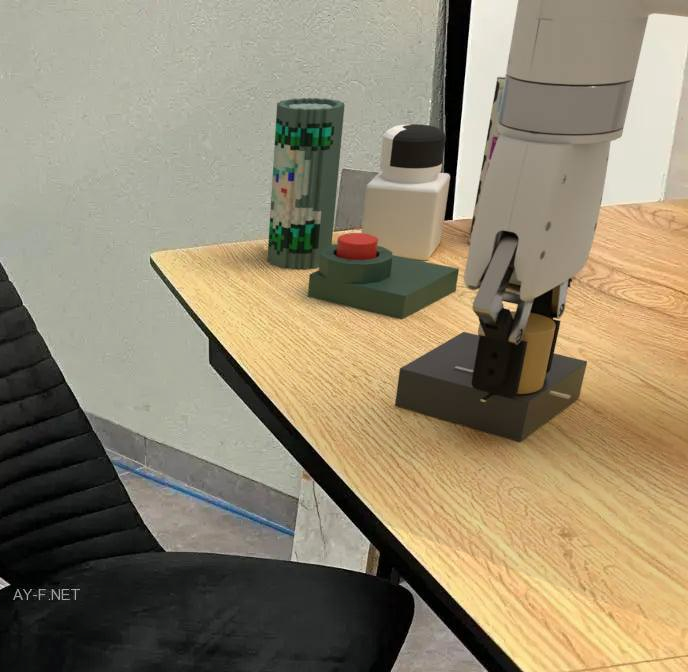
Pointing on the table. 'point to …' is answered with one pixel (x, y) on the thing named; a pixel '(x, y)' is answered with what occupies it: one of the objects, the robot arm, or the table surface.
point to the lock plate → (479, 406)
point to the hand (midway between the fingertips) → (510, 378)
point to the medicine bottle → (408, 192)
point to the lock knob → (536, 352)
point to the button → (357, 246)
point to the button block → (381, 282)
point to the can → (304, 181)
